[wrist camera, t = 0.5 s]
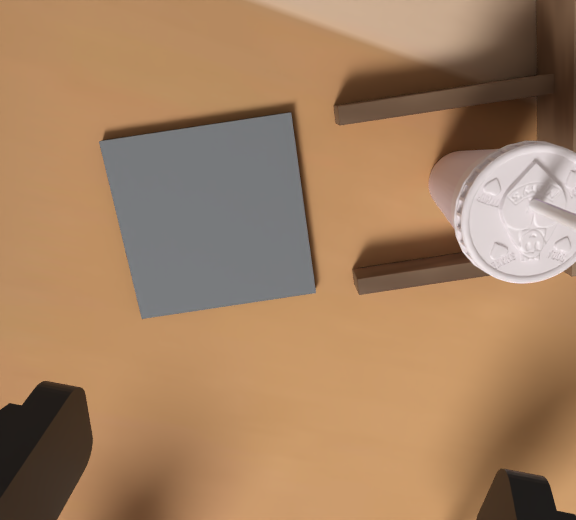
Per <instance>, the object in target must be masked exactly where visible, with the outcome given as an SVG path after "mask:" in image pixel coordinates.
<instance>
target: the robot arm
mask: <svg viewBox="0 0 576 520" xmlns="http://www.w3.org/2000/svg"><path fill="white" fill-rule="evenodd" d="M92 443H93V437H92V431H91V425H90V419H89V413H88V407H87V401H86V395H85V391H84V390H83V388H81V387H76V386H70V385H65V384H60V383H54V382H49V381H43V382H41V383H40V384H38V385H37V386H36V388H35V389H34V390H33V391H32V393H31V394H30V395H29V397H28V398H27V399H26V401H25V402H24V403H23V405H16V404H11V403H9V404H8V405H7V406H5V407H4V408H2V409H1V410H0V520H57V519H58V517H59V515H60V513H61V511H62V510H63V508H64V506H65V504H66V502H67V501H68V499H69V497H70V495H71V493H72V492H73V490H74V488H75V486H76V484H77V483H78V481H79V479H80V477H81V475H82V474H83V472H84V470H85V468H86V466H87V463H88V461H89V458H90V454H91V450H92ZM476 520H576V516H575V514H570V513H565V512H560V511H557V510H556V506H555V503H554V499H553V495H552V491H551V488H550V485H549V483H548V481H547V479H546V478H545V477H543V476H540V475H534V474H529V473H524V472H518V471H513V470H508V469H500V470H499V471H498V472H497V474H496V476H495V478H494V480H493V483H492V485H491V487H490V489H489V491H488V493H487V496H486V498H485V500H484V502H483V504H482V507H481V509H480V511H479V513H478V516H477V519H476Z"/></svg>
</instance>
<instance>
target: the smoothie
mask: <svg viewBox="0 0 576 520" xmlns="http://www.w3.org/2000/svg"><path fill="white" fill-rule="evenodd" d="M429 191H430V194H431V197H432V199H433V200H434V201H435V203H436V204H437V206H438V207H439V208H440V210H441V211H442V212H443V214H444V215H445V217H446V218H447V219H448V221H449V222H450V223H451V225H452V226H453V228H454V229H455V234H456V238H457V240H458V243H459V245H460V247H461V249H462V252H463V253H464V254H465V255H466V257H467V258H468V259H469V260H470V261H471V262H472V264H473V265H475V266H476V267H478V268H479V269H481V270H483V271H484V272H486V273H487V274H489V275H491V276H493V277H495V278H497V279H500V280H502V281H506V282H511V283H533V282H538V281H543V280H546V279H549V278H551V277H553V276H556V275H557V274H559V273H561V272H563V271H564V270H566V269H567V268H569V267H570V266H571V265H573V264H574V263H575V262H576V153H575V152H573V151H571V150H569V149H567V148H564V147H561V146H558V145H554V144H551V143H548V142H546V141H522V142H518V143H514V144H509V145H506V146H504V147H502V148H500V149H488V150H467V151H455V152H452V153H449V154H447V155H445V156H444V157H442V158H441V159H440V160H439V161H438V162H437V163H436V164H435V166H434V167H433V169H432V171H431V174H430V177H429Z"/></svg>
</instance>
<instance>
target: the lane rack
mask: <svg viewBox="0 0 576 520" xmlns="http://www.w3.org/2000/svg"><path fill="white" fill-rule="evenodd" d="M536 36H537V75H534V76H527V77H520V78H514V79H507V80H500V81H494V82H487V83H481V84H474V85H467V86H461V87H454V88H447V89H441V90H434V91H427V92H421V93H414V94H408V95H401V96H394V97H388V98H381V99H374V100H368V101H361V102H355V103H348V104H341V105H335V106H334V113H335V122H336V124H338V125H346V124H353V123H360V122H366V121H373V120H379V119H386V118H393V117H399V116H406V115H413V114H419V113H426V112H433V111H439V110H446V109H453V108H459V107H466V106H472V105H479V104H486V103H492V102H499V101H506V100H512V99H519V98H526V97H532V96H537V141H546V142H548V143H551V144H554V145H558V146H561V147H564V148H567V149H569V150H571V151H573V152H575V153H576V0H536ZM352 270H353V278H354V285H355V287H356V289H357V291H358V293H359V295H362V294H369V293H375V292H382V291H389V290H395V289H402V288H409V287H416V286H422V285H429V284H436V283H442V282H449V281H456V280H463V279H469V278H476V277H483V276H489V274H487V273H486V272H484V271H483V270H481V269H479V268H478V267H476V266H475V265H473V264H472V262H471V261H470V260H469V259H468V258H467V257H466V255H465V254H464V253H456V254H449V255H442V256H436V257H429V258H422V259H416V260H409V261H402V262H396V263H389V264H382V265H375V266H369V267H362V268H355V269H352ZM564 272H565V273H567V274H569V275H570V276H576V262H575V263H574V264H573V265H571V266H570V267H569V268H567V269H566V270H564Z"/></svg>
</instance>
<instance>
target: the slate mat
mask: <svg viewBox="0 0 576 520" xmlns="http://www.w3.org/2000/svg"><path fill="white" fill-rule="evenodd" d="M99 144H100V148H101V152H102V156H103V160H104V164H105V168H106V172H107V177H108V181H109V185H110V189H111V193H112V197H113V201H114V206H115V210H116V214H117V218H118V222H119V226H120V230H121V234H122V239H123V243H124V247H125V251H126V255H127V259H128V263H129V268H130V272H131V276H132V280H133V284H134V288H135V292H136V296H137V301H138V305H139V309H140V313H141V317H142V319H144V318H151V317H158V316H164V315H171V314H178V313H184V312H191V311H198V310H205V309H211V308H218V307H225V306H231V305H238V304H245V303H251V302H258V301H265V300H272V299H278V298H285V297H292V296H298V295H305V294H312V293H316V289H315V282H314V275H313V268H312V260H311V253H310V246H309V239H308V231H307V224H306V217H305V210H304V202H303V195H302V188H301V181H300V173H299V166H298V159H297V152H296V144H295V137H294V130H293V122H292V115H291V112H288V113H282V114H275V115H268V116H262V117H255V118H248V119H242V120H235V121H229V122H222V123H215V124H209V125H202V126H195V127H189V128H182V129H175V130H169V131H162V132H156V133H149V134H142V135H136V136H129V137H122V138H116V139H109V140H103V141H99Z"/></svg>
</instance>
